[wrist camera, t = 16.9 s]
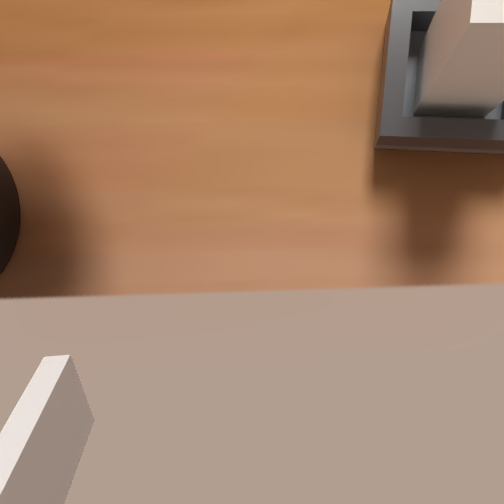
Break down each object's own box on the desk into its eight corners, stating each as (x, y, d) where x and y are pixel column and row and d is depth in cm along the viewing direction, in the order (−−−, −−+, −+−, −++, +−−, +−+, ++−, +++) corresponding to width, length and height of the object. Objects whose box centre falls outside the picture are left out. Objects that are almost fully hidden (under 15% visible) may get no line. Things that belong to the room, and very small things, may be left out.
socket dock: (374, 148, 30) (379, 135, 27) (386, 20, 30) (393, -9, 27) (512, 154, 29) (536, 141, 25) (526, 19, 28) (552, -12, 25)
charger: (413, 114, 29) (472, 19, 17) (419, 47, 29) (484, -98, 17) (485, 116, 28) (600, 17, 16) (491, 47, 28) (614, -105, 16)
